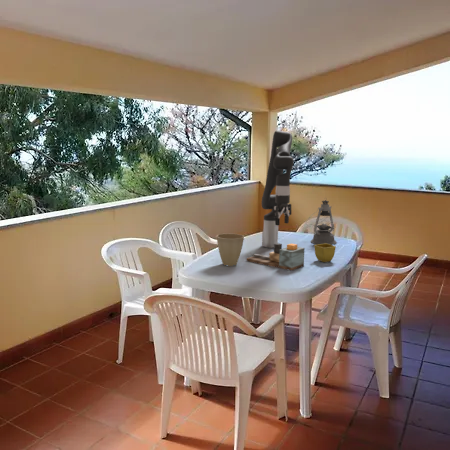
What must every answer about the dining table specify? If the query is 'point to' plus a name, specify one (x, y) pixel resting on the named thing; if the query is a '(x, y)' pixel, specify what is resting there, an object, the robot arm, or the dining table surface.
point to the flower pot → (324, 252)
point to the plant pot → (230, 248)
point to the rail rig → (282, 259)
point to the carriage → (275, 252)
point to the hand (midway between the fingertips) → (281, 224)
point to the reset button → (292, 246)
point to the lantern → (323, 226)
